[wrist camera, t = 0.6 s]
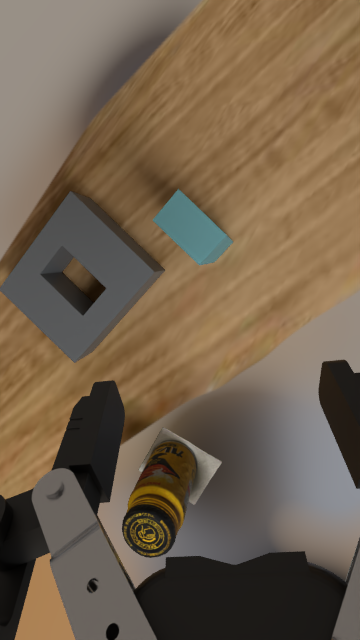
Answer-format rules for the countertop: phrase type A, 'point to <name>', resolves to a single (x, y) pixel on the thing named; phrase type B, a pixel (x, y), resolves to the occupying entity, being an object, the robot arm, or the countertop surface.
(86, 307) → the gray slotted block
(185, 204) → the teal rectangular block
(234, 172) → the countertop surface
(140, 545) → the condiment
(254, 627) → the robot arm
